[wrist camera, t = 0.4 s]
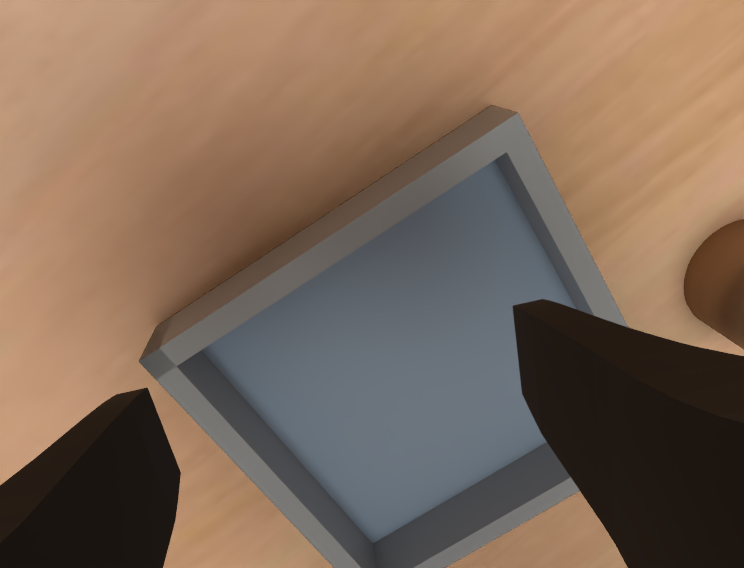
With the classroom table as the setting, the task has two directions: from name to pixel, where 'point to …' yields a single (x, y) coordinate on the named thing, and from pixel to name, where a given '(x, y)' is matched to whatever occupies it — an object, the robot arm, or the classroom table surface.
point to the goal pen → (394, 355)
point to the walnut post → (719, 282)
